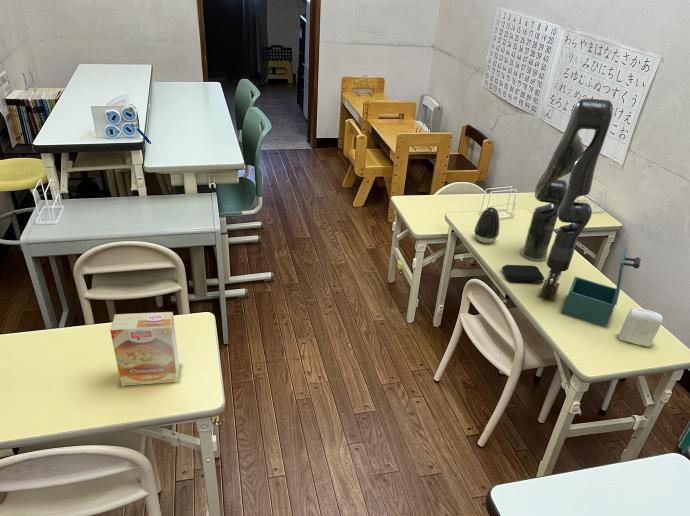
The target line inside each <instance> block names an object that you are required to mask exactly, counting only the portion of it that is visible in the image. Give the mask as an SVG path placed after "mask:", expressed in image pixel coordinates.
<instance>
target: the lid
mask: <svg viewBox="0 0 690 516" xmlns="http://www.w3.org/2000/svg"><path fill="white" fill-rule="evenodd" d="M627 251H628V247H624V248H623V252H622V257H621V260H620V265H619V270H618V277H617V283H616V294H615V300H614V305H615V306H617V304H618V300H619V295H620V292H621V288H622V287H621V286H622V280H623V275H624V269H625V267H633V269H635V270H637V269H639V268H640V267H641V258H640V257H634V258H633V257H627ZM626 261H628V262H626ZM631 262H633V263H631Z"/></svg>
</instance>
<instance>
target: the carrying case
mask: <svg viewBox="0 0 690 516" xmlns="http://www.w3.org/2000/svg"><path fill="white" fill-rule="evenodd" d="M501 271H502V272H503V275H504V277H505V278H506V280H507V281H509V282H516V283H534V284H538V283H541V282H544V281H545V277H544V274H543V273H542V272H541V270H540V268H539V267H538V266H536V265H528V264H527V265H526V264H505V265H503V266H502V267H501Z"/></svg>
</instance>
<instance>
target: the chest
mask: <svg viewBox="0 0 690 516" xmlns="http://www.w3.org/2000/svg"><path fill="white" fill-rule="evenodd" d="M616 288H617V287H616ZM616 288H615V287H612V286H609V285H605V284H602V283H598V282H595V281H592V280H588V279H585V278H582V277H579V276H574V278H573V280H572V283H571V286H570V289H569V290H568V294H567V297H566V300H565V303H564V306H563V308H562V312H561V313H562V314H564V315H566V316H570V317H573V318H576V319H579V320H582V321H584V322H585V321H586V322H589V323H591V324H593V325H594V324H595V325H598V326H601V327H603V328H607V326H608V323H609V321H610V320H611V319H610V318H611V316H612V314H613V311H614V308H615V306H616V305H614V300H615V294H616Z"/></svg>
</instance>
